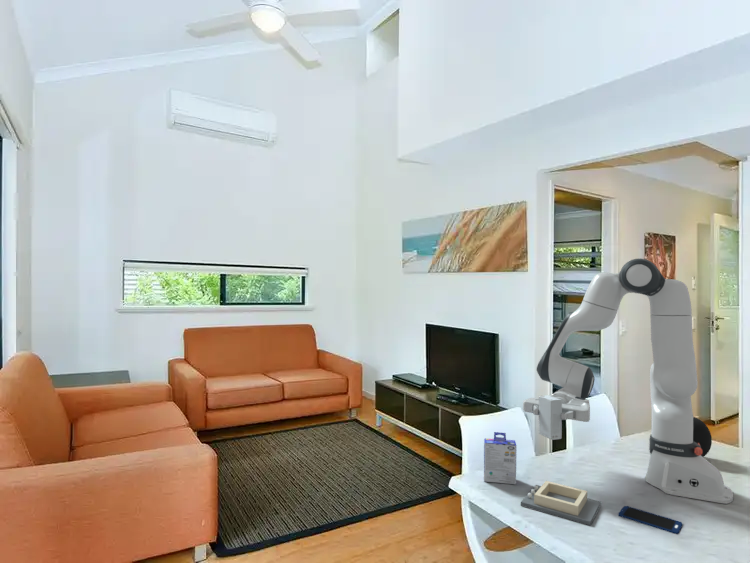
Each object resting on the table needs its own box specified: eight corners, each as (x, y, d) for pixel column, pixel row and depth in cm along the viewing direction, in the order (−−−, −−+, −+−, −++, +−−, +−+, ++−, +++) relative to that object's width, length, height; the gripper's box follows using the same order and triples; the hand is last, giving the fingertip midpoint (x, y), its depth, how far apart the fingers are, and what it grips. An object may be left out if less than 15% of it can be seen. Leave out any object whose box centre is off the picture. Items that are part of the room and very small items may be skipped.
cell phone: (678, 536, 117) (678, 533, 117) (617, 517, 126) (617, 514, 126) (683, 525, 122) (683, 522, 122) (624, 507, 131) (624, 504, 131)
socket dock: (600, 505, 132) (601, 492, 132) (590, 525, 121) (590, 511, 121) (536, 488, 142) (536, 476, 142) (520, 505, 131) (520, 492, 131)
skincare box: (562, 439, 143) (563, 399, 143) (550, 440, 142) (551, 400, 142) (548, 432, 149) (549, 394, 149) (536, 433, 148) (538, 395, 148)
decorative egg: (662, 455, 172) (662, 414, 172) (683, 450, 177) (684, 410, 177) (697, 467, 160) (698, 423, 161) (719, 462, 166) (719, 419, 166)
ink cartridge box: (515, 477, 150) (515, 432, 150) (516, 485, 144) (517, 438, 144) (483, 475, 152) (484, 430, 152) (483, 482, 146) (484, 435, 146)
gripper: (530, 391, 162) (516, 399, 151) (594, 400, 150) (584, 409, 139) (530, 409, 162) (516, 418, 151) (594, 420, 150) (584, 431, 139)
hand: (549, 414), depth 145 cm, fingers closed on skincare box, 7 cm apart
